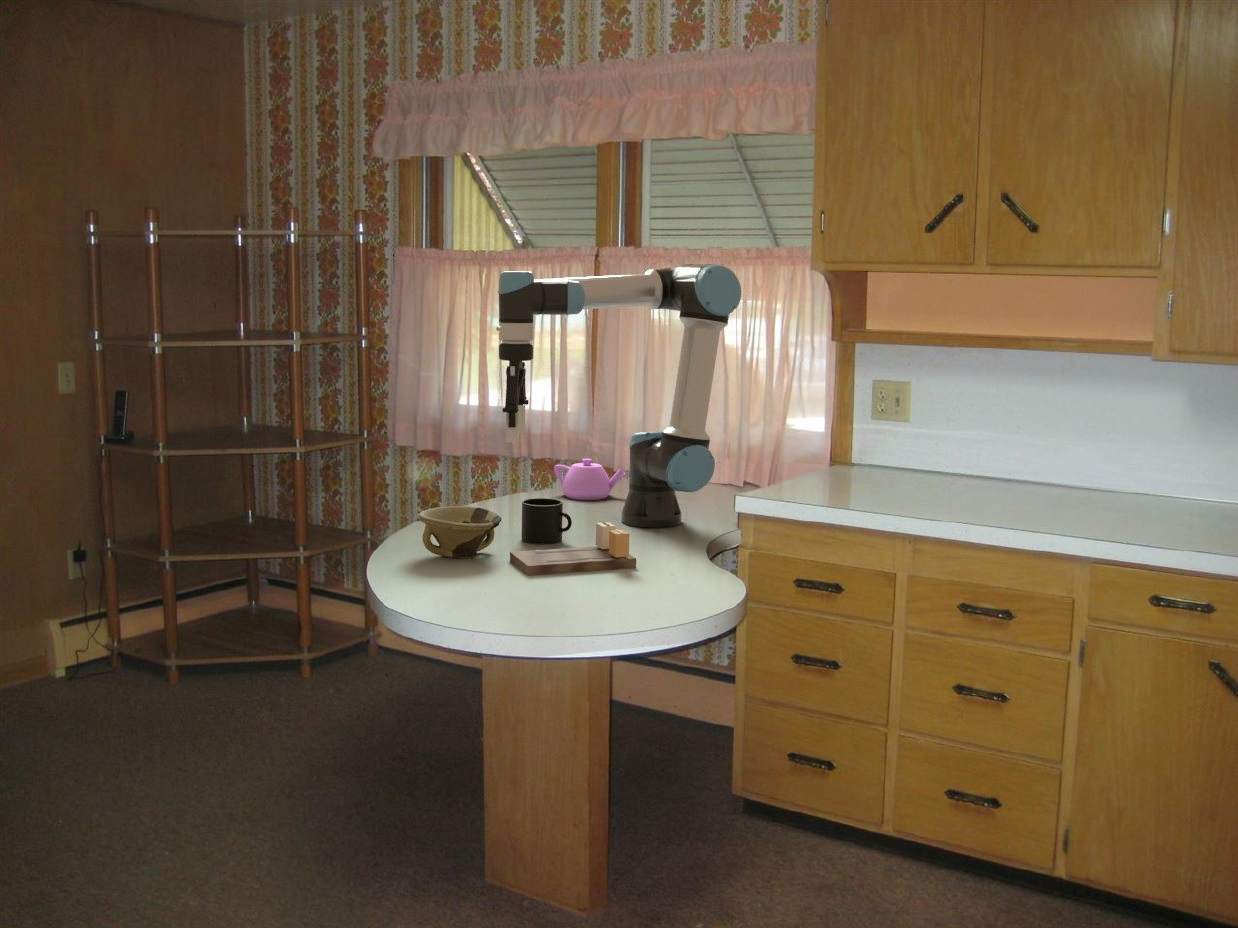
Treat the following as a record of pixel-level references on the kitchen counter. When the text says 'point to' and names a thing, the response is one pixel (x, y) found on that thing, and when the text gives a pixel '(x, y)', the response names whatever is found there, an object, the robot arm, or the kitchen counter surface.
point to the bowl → (458, 530)
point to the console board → (569, 560)
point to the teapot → (587, 480)
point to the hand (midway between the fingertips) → (515, 437)
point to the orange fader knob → (619, 543)
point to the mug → (543, 521)
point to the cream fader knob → (603, 534)
